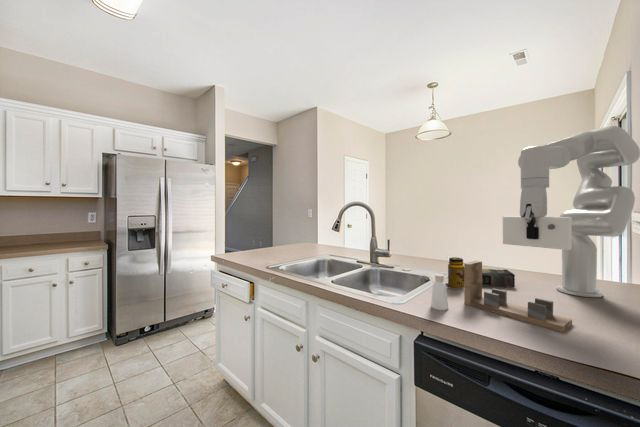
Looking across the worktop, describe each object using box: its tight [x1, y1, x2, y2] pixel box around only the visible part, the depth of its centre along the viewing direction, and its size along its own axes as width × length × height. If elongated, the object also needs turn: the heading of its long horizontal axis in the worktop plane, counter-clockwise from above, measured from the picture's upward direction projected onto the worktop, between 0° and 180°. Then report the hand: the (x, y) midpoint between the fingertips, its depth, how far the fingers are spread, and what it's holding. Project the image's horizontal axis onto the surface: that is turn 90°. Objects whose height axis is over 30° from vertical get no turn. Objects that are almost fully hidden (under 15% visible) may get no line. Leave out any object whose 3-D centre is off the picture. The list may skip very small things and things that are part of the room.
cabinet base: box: [463, 260, 573, 333], centre depth 84 cm, size 8×26×14 cm, turn 34°
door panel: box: [502, 215, 572, 251], centre depth 90 cm, size 4×18×10 cm, turn 34°
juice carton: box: [482, 268, 516, 288], centre depth 117 cm, size 20×10×6 cm, turn 72°
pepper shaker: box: [430, 273, 449, 311], centre depth 90 cm, size 5×5×11 cm
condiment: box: [444, 256, 464, 290], centre depth 112 cm, size 7×8×12 cm
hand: (534, 237), depth 91 cm, fingers closed on door panel, 3 cm apart
